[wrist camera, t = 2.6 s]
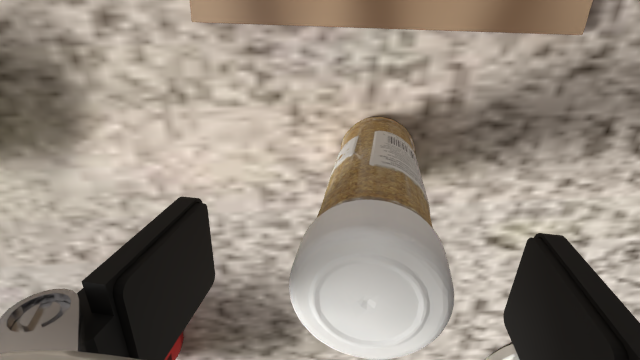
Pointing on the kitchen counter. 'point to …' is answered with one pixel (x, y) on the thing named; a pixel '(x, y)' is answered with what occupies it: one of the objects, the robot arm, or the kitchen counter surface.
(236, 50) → the kitchen counter surface
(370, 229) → the spice jar
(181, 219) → the robot arm
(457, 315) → the kitchen counter surface
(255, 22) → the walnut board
